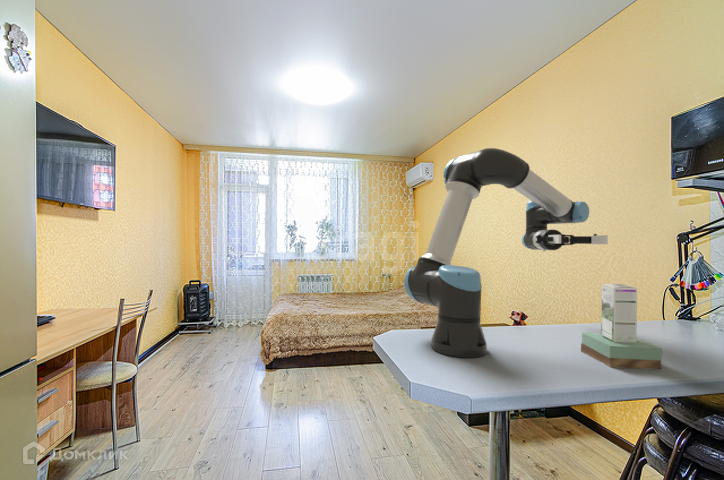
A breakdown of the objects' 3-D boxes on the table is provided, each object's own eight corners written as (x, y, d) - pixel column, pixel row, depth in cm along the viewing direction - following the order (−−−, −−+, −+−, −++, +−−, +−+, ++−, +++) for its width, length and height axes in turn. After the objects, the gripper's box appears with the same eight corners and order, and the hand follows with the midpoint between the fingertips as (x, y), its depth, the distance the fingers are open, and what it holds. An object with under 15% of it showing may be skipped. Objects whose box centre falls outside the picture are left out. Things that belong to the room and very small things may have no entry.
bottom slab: (610, 370, 82) (610, 358, 82) (580, 354, 94) (581, 343, 94) (660, 372, 81) (661, 360, 81) (624, 355, 93) (625, 344, 93)
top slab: (609, 358, 82) (609, 346, 82) (581, 343, 94) (582, 332, 94) (661, 360, 81) (661, 348, 81) (626, 345, 93) (627, 334, 93)
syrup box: (637, 343, 84) (639, 287, 84) (612, 342, 85) (614, 286, 85) (623, 336, 90) (624, 283, 90) (599, 335, 91) (601, 283, 91)
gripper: (583, 250, 121) (625, 252, 100) (513, 249, 123) (540, 251, 101) (583, 230, 121) (625, 227, 100) (513, 229, 123) (541, 226, 102)
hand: (583, 239), depth 101 cm, fingers open, 13 cm apart
